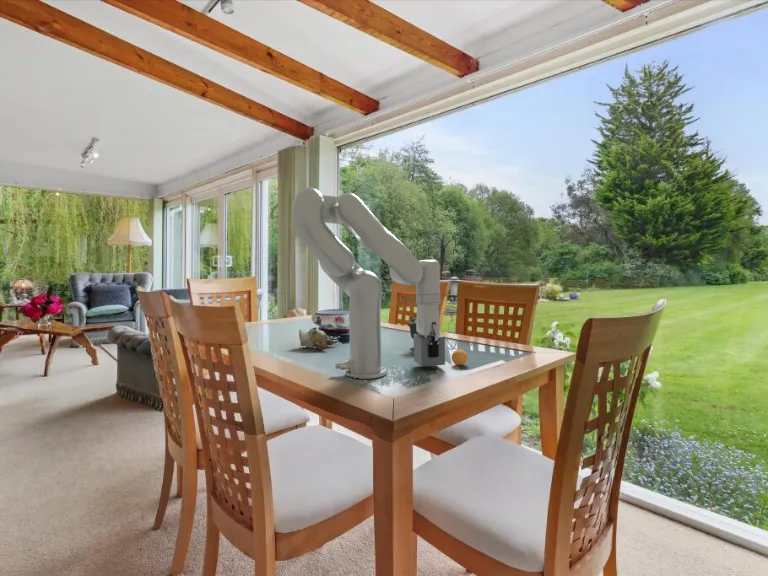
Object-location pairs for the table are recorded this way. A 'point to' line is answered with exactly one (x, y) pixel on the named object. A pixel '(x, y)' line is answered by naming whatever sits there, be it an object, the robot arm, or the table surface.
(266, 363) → the table surface
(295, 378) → the table surface
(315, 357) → the table surface
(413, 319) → the sundae
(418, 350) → the grey matte cube
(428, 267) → the robot arm
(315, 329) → the ceramic sculpture
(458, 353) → the ball
